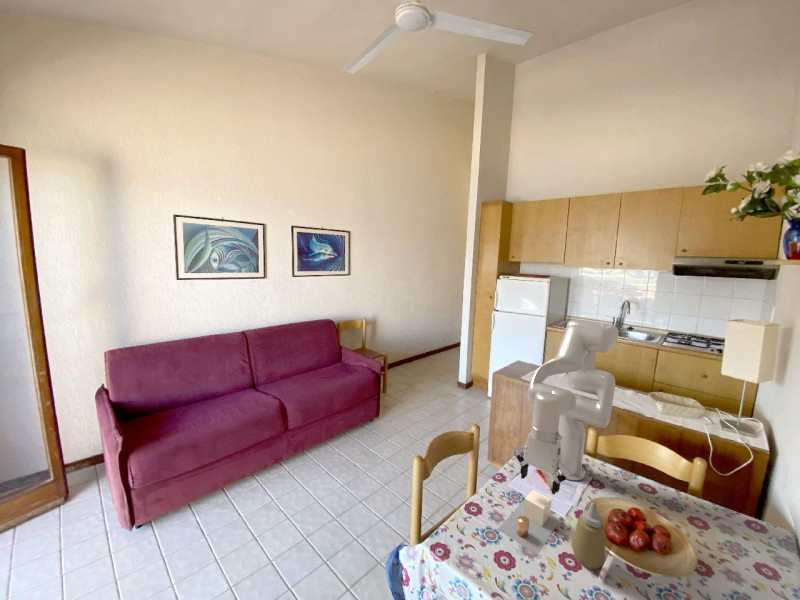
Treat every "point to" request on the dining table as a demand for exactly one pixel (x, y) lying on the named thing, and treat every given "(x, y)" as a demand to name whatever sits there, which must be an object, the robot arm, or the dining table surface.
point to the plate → (535, 533)
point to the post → (523, 526)
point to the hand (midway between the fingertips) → (538, 484)
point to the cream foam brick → (537, 507)
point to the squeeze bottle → (589, 539)
